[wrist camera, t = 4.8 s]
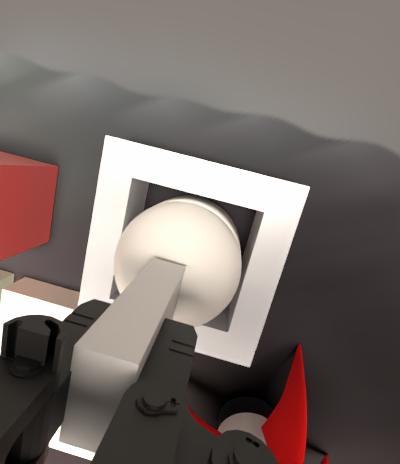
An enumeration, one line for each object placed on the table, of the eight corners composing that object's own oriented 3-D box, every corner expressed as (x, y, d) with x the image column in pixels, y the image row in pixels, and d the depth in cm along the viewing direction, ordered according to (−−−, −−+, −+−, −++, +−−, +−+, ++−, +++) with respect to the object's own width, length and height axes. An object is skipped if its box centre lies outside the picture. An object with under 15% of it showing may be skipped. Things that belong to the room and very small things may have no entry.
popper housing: (295, 183, 20) (310, 186, 16) (246, 333, 23) (249, 367, 19) (129, 141, 20) (105, 134, 17) (102, 292, 23) (76, 317, 19)
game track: (177, 320, 23) (171, 337, 21) (145, 446, 26) (136, 474, 24) (-129, 232, 24) (-168, 239, 22) (-126, 361, 27) (-161, 380, 25)
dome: (252, 210, 19) (264, 234, 12) (224, 304, 21) (220, 376, 14) (150, 183, 20) (102, 191, 12) (131, 278, 21) (78, 335, 14)
